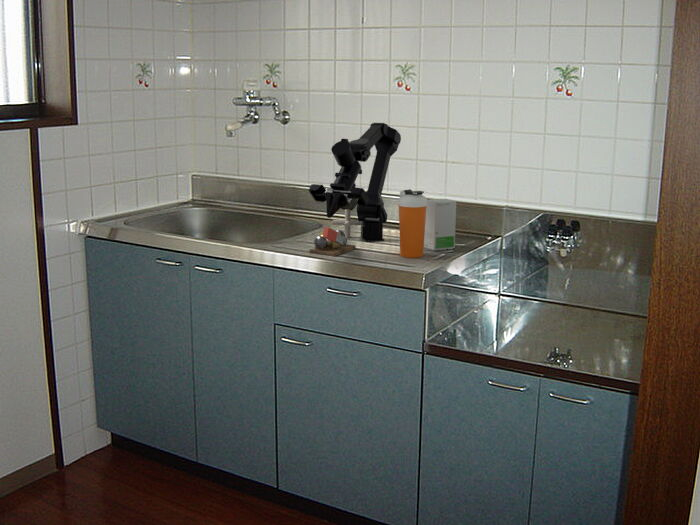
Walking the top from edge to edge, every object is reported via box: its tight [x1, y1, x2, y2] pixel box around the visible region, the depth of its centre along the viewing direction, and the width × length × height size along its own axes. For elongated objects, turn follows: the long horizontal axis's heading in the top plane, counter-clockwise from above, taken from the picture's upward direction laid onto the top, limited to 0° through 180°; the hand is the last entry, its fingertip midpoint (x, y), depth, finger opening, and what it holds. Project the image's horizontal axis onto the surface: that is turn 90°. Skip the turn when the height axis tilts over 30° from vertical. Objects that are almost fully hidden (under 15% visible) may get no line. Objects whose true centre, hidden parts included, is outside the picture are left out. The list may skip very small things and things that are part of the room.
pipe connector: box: [332, 209, 362, 239], centre depth 284 cm, size 10×10×10 cm
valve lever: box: [322, 226, 348, 245], centre depth 257 cm, size 3×2×13 cm
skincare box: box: [424, 198, 457, 251], centre depth 267 cm, size 8×7×16 cm
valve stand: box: [308, 229, 356, 257], centre depth 264 cm, size 13×9×6 cm
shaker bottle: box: [397, 188, 427, 259], centre depth 256 cm, size 9×9×20 cm
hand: (328, 217), depth 252 cm, fingers closed
